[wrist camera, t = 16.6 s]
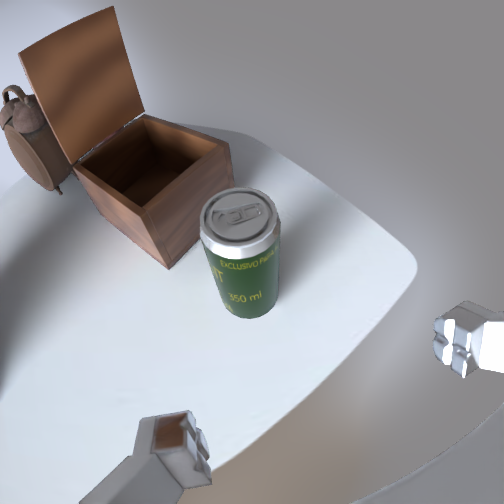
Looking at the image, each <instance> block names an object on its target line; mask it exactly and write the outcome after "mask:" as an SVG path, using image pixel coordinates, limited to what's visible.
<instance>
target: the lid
mask: <svg viewBox="0 0 504 504" xmlns="http://www.w3.org/2000/svg"><path fill="white" fill-rule="evenodd" d="M18 56H19V59H20V61H21V64H22V66H23V69H24V71H25V74H26V76H27V78H28V81H29V83H30V85H31V88H32V90H33V92H34V94H35V96H36V99H37V101H38V103H39V105H40V107H41V109H42V111H43V113H44V115H45V118H46V120H47V122H48V124H49V126H50V127H51V129H52V131H53V133H54V135H55V137H56V139H57V141H58V143H59V145H60V147H61V148H62V150H63V152H64V154H65V156H66V158H67V159H68V161H69V163H70V164H73V163H74V162H76V161H77V160H78V159H79V158H80V157H82V156H83V155H84V154H85V153H87V152H88V151H89V150H91V149H92V148H93V147H94V146H96V145H97V144H98V143H100V142H101V141H102V140H104V139H105V138H107V137H108V136H109V135H111V134H112V133H113V132H115V131H116V130H118V129H119V128H121V127H122V126H123V125H125V124H126V123H128V122H129V121H131V120H132V119H134V118H135V117H137V116H138V115H140V114H141V113H143V112H145V110H144V107H143V104H142V101H141V98H140V95H139V92H138V89H137V85H136V82H135V79H134V76H133V73H132V69H131V66H130V63H129V59H128V56H127V53H126V49H125V46H124V43H123V39H122V36H121V32H120V28H119V25H118V21H117V17H116V14H115V10H114V6H111V7H108V8H105V9H104V10H100V11H98V12H96V13H94V14H91V15H89V16H86V17H84V18H82V19H80V20H78V21H76V22H73V23H71V24H69V25H67V26H65V27H63V28H61V29H59V30H57V31H55V32H54V33H52V34H50V35H48V36H46V37H45V38H43V39H41V40H39V41H37V42H36V43H34V44H32V45H31V46H29V47H27V48H26V49H24V50H23V51H21V52H20V53H18Z"/></svg>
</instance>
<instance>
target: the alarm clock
mask: <svg viewBox="0 0 504 504" xmlns="http://www.w3.org/2000/svg"><path fill="white" fill-rule="evenodd" d="M8 91H12V92H14V93H15V94H16V95H17V96H18V98H14V99H12V100H9V95H8ZM2 95H3V99H4V102H3V104H4V105H5V106H4V107H3V108H2V110H1V112H0V125H1V128H2V130H4V131H5V135H6V138H7V141H8V144H9V147H10V149H11V151H12V153H13V155H14V156H15V158H16V160H17V161H18V162H19V164H20V165H21V167H22V168H23V169H24V170H25V172H26V173H27V174H28V175H29V176H30V177H31V178H32V179H33V180H34V181H36V182H37V183H38V184H40V185H41V186H42V187H44V188H45V189H47V190H49V191H52V190H54V189H56V190H57V191H58V192H59V195H62V194H63V193H62V192H61V191H60V188H59V186H58V185H59V184H60V183H62V182H63V181H64V180H65V179H66V178H67V177H68V175H69V174H70V173H72V174H73V175H74V176H76V177H77V179H78V180H80V179H79V178H78V176H77V174H76V172H75V171H74V169H73V166H74V165H75V164H77V163H78V160H77V161H76V162H74V163H73V164H70V163H69V161H68V159H67V158H66V156H65V154H64V152H63V150H62V148H61V147H60V145H59V143H58V141H57V139H56V137H55V135H54V133H53V131H52V129H51V127H50V126H49V124H48V122H47V120H46V118H45V115H44V113H43V111H42V109H41V107H40V105H39V103H38V101H37V99H36V96H35V94H33V95H26V94H25V93H24V92H23V90H22V89H21V88H20V87H19V86H16V85H10V86H8V87H7V88H5V89H4V91H3V92H2Z"/></svg>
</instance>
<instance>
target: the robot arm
mask: <svg viewBox="0 0 504 504" xmlns="http://www.w3.org/2000/svg"><path fill="white" fill-rule="evenodd" d="M433 330H434V331H435V332H436V336H435V338H434V340H433V351H434V353H435V356H436V357H437V359H438V360H439V361H440V362H442V363H443V364H449V365H451V370H453V371H454V372H455V373H457V374H458V375H460V376H461V377H462V378H464V377H466V376H467V375H468V374H470V373H471V372H473V371H474V370H476V369H477V368H478V367H480V368H483V369H488V370H493V371H498V372H503V373H504V311H501V312H498V313H496V312H493V311H491V310H489V309H486V308H484V307H482V306H480V305H477V304H475V303H473V302H470V301H463V302H462V303H460V304H459V305H457V306H456V307H455V308H453V309H452V310H450V311H448V312H446V313H445V314H443V315H441V316H439V317H438V318H436V319H435V321H434V329H433ZM208 459H209V449H208V445H207V441H206V439H205V436H204V434H203V432H202V430H201V429H199V428H197V427H196V419H195V417H194V416H193V414H192V412H191V411H189V410H187V411H181V412H176V413H170V414H163V415H158V416H152V417H145V418H142V419H141V420H140V421H139V426H138V430H137V435H136V440H135V445H134V450H133V455H132V456H127V457H126V458H125V459H124V460H123V461H122V462H121V463H120V464H119V465H118V466H117V467H116V468H115V469H114V470H113V471H112V472H111V473H110V474H109V475H108V476H107V477H106V478H104V479H103V480H102V481H101V482H100V483H99V484H98V485H97V486H96V487H95V488H94V489H93V490H92V491H91V492H89V493H88V494H87V495H86V496H85V497H84V498H83V499H82V500H81V501H80V502H79V504H177V502H178V501H179V499H180V497H181V496H182V494H183V492H184V489H190V488H196V487H202V486H207V485H212V481H211V469H210V467H209V465H208V463H207V462H206V461H207V460H208ZM349 504H504V403H503V404H502V405H501V406H500V407H499V408H497V409H496V410H495V411H494V412H493V413H492V414H491V415H490V416H489V417H487V418H486V419H485V420H484V421H483V422H482V423H480V424H479V425H478V426H477V427H476V428H474V429H473V430H472V431H471V432H469V433H468V434H467V435H465V436H464V437H463V438H462V439H460V440H459V441H458V442H456V443H455V444H454V445H452V446H451V447H449V448H448V449H447V450H445V451H444V452H442V453H441V454H439V455H438V456H436V457H435V458H433V459H432V460H430V461H429V462H427V463H426V464H424V465H422V466H421V467H419V468H418V469H416V470H414V471H413V472H411V473H409V474H408V475H406V476H404V477H402V478H401V479H399V480H397V481H395V482H393V483H391V484H389V485H387V486H386V487H384V488H382V489H380V490H378V491H376V492H374V493H371V494H369V495H367V496H365V497H363V498H361V499H358V500H356V501H354V502H351V503H349Z"/></svg>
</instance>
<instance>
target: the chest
mask: <svg viewBox="0 0 504 504" xmlns="http://www.w3.org/2000/svg"><path fill="white" fill-rule="evenodd" d="M73 169H74V171H75V172H76V174H77V176H78V178H79V179H80V181H81V183H82V185H83V186H84V188H85V190H86V191H87V193H88V195H89V196H90V198H91V200H92V201H93V203H94V205H95V206H96V208H97V209H98V211H99V213H100V214H101V215H102V216H103V217H104V218H106V219H107V220H108V221H109V222H110V223H111V224H113V225H114V226H115V227H116V228H117V229H119V230H120V231H121V232H122V233H123V234H125V235H126V236H127V237H128V238H129V239H131V240H132V241H133V242H134V243H136V244H137V245H138V246H139V247H140V248H142V249H143V250H144V251H145V252H147V253H148V254H149V255H150V256H152V257H153V258H154V259H155V260H157V261H158V262H159V263H160V264H162V265H163V266H164V267H166V268H167V269H168V270H169V269H170V268H171V267H172V266H173V265H174V264H175V263H176V262H177V261H178V260H179V259H180V258H181V257H182V256H183V255H184V254H185V253H186V252H187V251H188V250H189V249H190V248H191V247H192V246H193V245H194V244H195V243H196V242H197V241H198V240H199V239H200V238H201V237H200V228H199V226H200V215H201V211H202V208H203V207H204V205H205V204H206V203H207V201H208V200H209V199H210V198H212V197H213V196H214V195H216V194H217V193H219V192H222V191H224V190H226V189H231V188H235V185H234V178H233V171H232V163H231V156H230V149H229V143H227V142H224V141H222V140H219V139H216V138H214V137H211V136H208V135H206V134H203V133H200V132H197V131H194V130H192V129H189V128H186V127H183V126H180V125H177V124H174V123H171V122H168V121H165V120H162V119H159V118H155V117H152V116H149V115H146V114H144V115H142V116H141V117H139V118H138V119H136V120H135V121H133V122H132V123H130V124H129V125H127V126H126V127H124V128H123V129H121V130H120V131H119V132H117V133H116V134H114V135H113V136H112V137H110V138H109V139H107V140H106V141H105V142H103V143H102V144H101V145H99V146H98V147H97V148H95V149H94V150H93V151H92V152H90V153H89V154H88V155H87V156H85V157H84V158H83V159H82V160H80V161H79V162H78V163H77V164H75V165H74V166H73Z"/></svg>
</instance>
